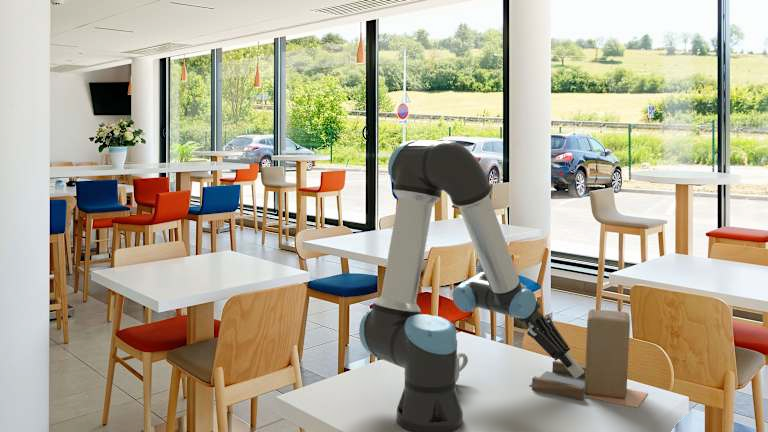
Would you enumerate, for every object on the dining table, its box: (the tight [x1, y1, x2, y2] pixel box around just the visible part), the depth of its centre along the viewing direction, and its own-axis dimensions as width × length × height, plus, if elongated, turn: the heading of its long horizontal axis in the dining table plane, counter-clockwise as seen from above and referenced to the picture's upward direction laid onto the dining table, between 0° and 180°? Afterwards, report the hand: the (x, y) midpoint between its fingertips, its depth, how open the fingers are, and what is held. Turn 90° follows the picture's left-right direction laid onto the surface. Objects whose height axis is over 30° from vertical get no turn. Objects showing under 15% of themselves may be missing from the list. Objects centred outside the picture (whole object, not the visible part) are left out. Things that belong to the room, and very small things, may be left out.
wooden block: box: [584, 308, 631, 398], centre depth 169 cm, size 10×10×20 cm
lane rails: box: [531, 359, 586, 401], centre depth 175 cm, size 17×13×3 cm
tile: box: [587, 388, 649, 409], centre depth 168 cm, size 11×12×1 cm
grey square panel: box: [528, 370, 590, 399], centre depth 175 cm, size 13×15×1 cm
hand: (580, 375), depth 173 cm, fingers closed
